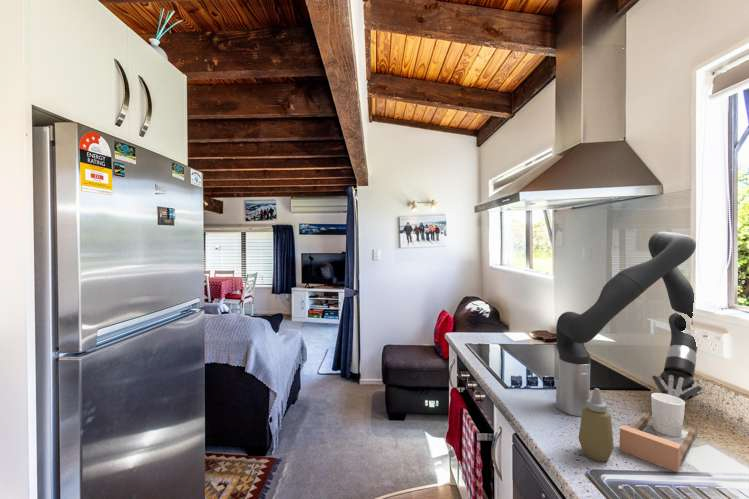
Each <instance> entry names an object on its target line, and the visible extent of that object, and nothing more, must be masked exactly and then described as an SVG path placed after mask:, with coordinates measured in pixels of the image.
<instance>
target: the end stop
mask: <svg viewBox="0 0 749 499" xmlns="http://www.w3.org/2000/svg"><path fill="white" fill-rule="evenodd" d="M618 444H619V446H618V447H619V449H618V450H619V451H620V452H621V451H622V452H624V453H627V454H629V455H632V456H634V457H637V458H640V459H642V460H645V461H646V462H650V463H652V464H655V465H657V466H660V467H662V468H665V469H667V470H671V471H673V472H674V473H675V472H676V473H679V471H680V470H681V468H680V466H681V445H682V443H681V444H680V443H678V442H675V441H672V440H669V439H666V438H664V437H661V436H657V435H654V434H651V433H649V432H646V431H643V430H642V431H640V430H637V429H634V428H633V427H630V426H629V425H626V424H622V426H620V427H619V443H618ZM681 467H682V466H681Z"/></svg>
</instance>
